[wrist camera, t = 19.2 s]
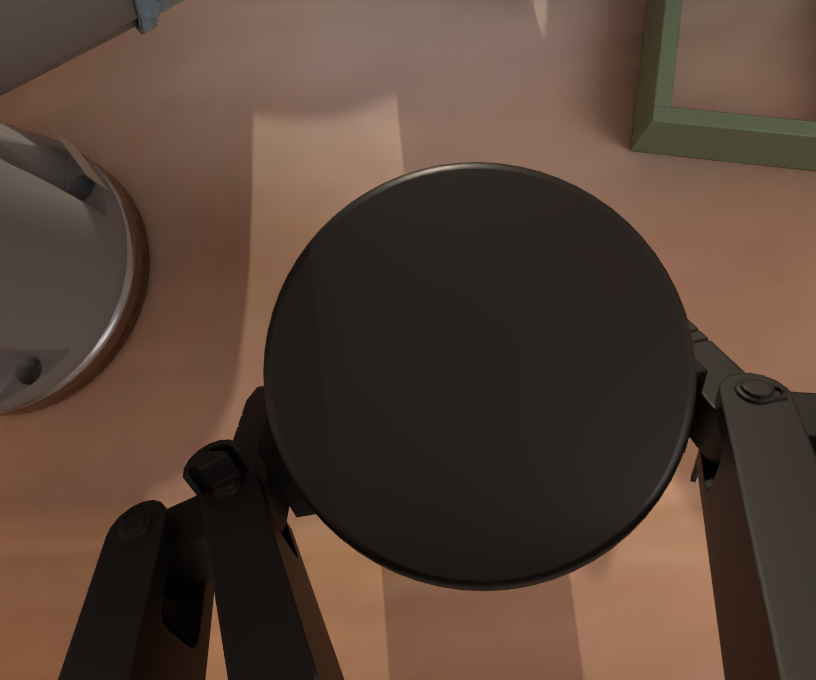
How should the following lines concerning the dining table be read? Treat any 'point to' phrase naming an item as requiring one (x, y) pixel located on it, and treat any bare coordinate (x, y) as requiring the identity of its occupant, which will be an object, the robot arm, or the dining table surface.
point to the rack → (705, 112)
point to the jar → (479, 376)
